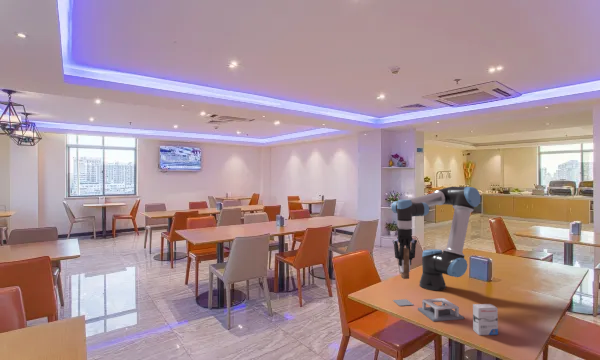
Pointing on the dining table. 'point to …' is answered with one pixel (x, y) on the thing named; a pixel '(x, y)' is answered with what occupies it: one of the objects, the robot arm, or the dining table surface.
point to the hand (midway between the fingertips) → (405, 271)
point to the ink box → (485, 319)
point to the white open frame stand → (440, 310)
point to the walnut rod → (405, 264)
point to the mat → (403, 302)
